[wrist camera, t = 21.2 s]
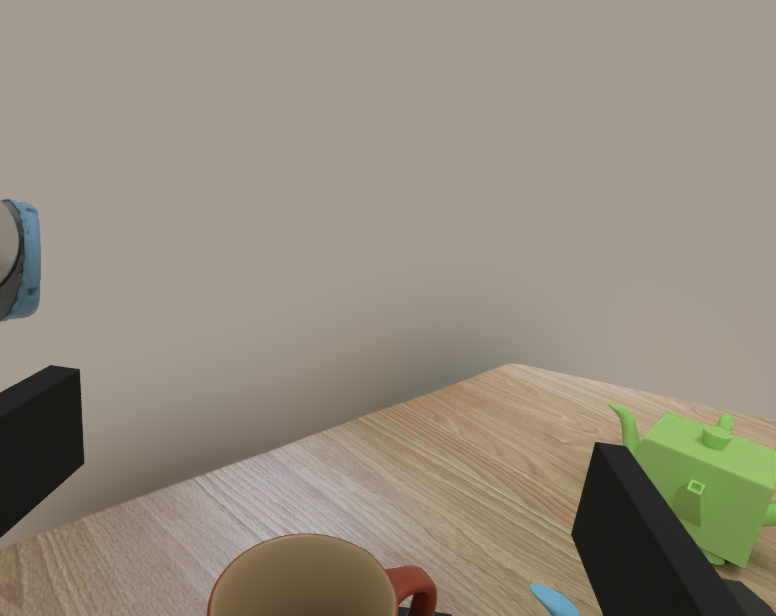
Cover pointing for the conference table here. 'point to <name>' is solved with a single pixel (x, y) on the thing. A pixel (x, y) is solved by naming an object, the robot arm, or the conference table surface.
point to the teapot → (554, 601)
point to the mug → (317, 581)
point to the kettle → (708, 480)
